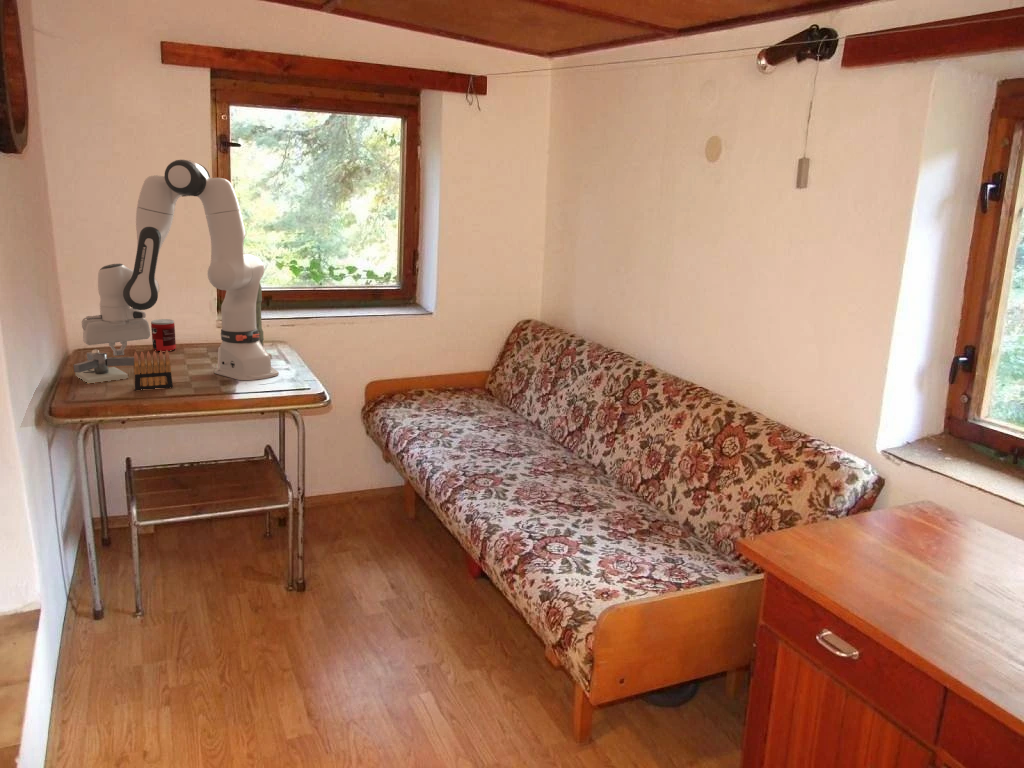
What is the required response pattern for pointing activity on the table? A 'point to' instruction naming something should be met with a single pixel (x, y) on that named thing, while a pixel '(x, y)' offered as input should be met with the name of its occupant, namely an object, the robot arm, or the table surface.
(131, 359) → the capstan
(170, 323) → the canned food
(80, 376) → the stand plate
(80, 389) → the table surface
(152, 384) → the ammunition clip
